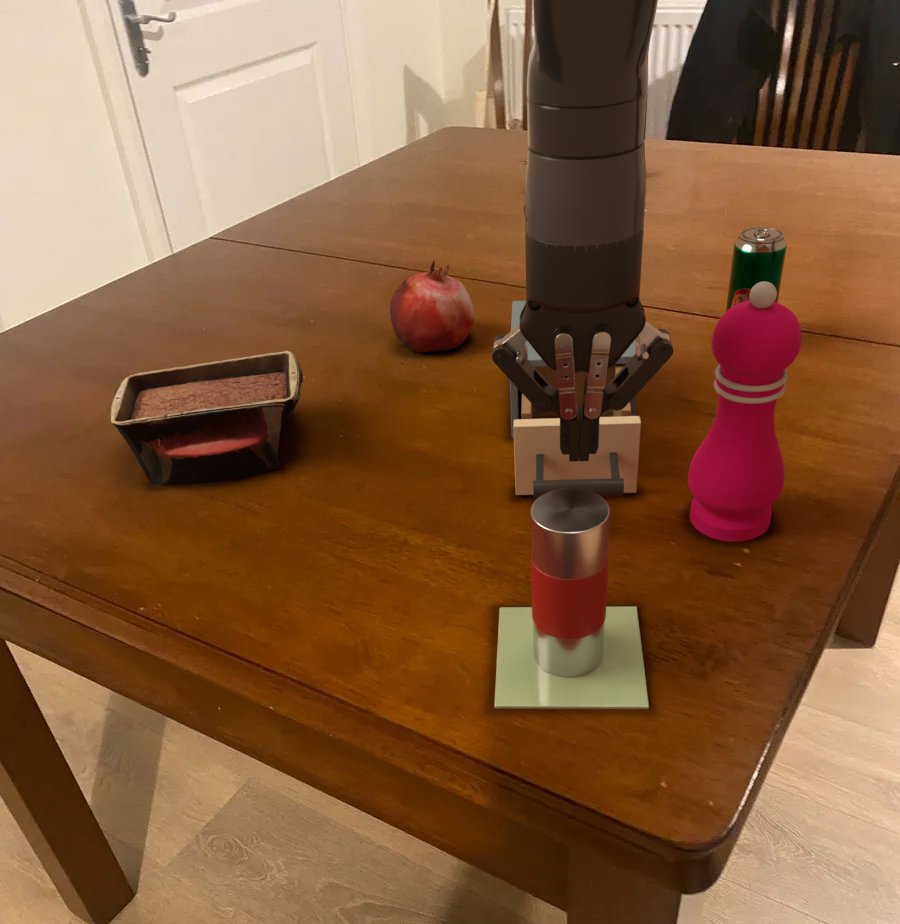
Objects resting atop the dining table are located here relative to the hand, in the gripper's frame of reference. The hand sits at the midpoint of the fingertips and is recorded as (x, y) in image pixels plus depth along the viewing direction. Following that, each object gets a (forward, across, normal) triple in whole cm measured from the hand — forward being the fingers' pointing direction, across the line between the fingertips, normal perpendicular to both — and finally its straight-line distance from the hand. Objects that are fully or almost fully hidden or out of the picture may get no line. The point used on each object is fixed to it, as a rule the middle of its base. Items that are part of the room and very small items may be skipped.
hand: (578, 455), depth 69 cm
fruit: (+8, -15, +38) cm, 41 cm away
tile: (+8, -1, -14) cm, 16 cm away
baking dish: (+8, -34, +16) cm, 38 cm away
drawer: (+7, 0, +9) cm, 11 cm away
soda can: (+8, +19, +34) cm, 40 cm away
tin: (+7, -1, -14) cm, 16 cm away
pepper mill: (+8, +12, +2) cm, 15 cm away
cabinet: (+8, 0, +22) cm, 24 cm away
